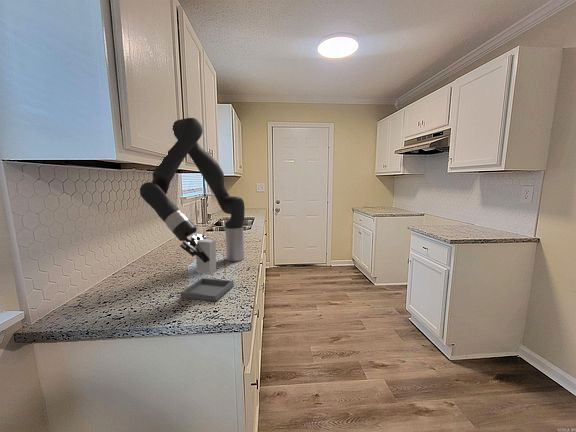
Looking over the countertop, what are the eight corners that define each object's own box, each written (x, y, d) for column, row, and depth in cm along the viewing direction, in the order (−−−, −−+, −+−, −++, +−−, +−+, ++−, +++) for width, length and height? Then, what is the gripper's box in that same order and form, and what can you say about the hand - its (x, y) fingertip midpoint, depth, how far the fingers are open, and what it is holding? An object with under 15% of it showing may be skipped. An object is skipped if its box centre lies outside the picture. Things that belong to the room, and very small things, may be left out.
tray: (202, 283, 108) (202, 277, 107) (233, 286, 104) (233, 280, 104) (180, 298, 94) (180, 292, 94) (215, 302, 91) (215, 296, 91)
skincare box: (196, 273, 97) (194, 241, 95) (203, 269, 101) (201, 238, 99) (210, 274, 95) (209, 242, 93) (217, 270, 99) (216, 239, 98)
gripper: (173, 222, 90) (206, 258, 89) (197, 216, 104) (226, 247, 103) (161, 236, 92) (193, 272, 91) (186, 228, 106) (214, 259, 105)
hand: (210, 259), depth 97 cm, fingers closed on skincare box, 4 cm apart
